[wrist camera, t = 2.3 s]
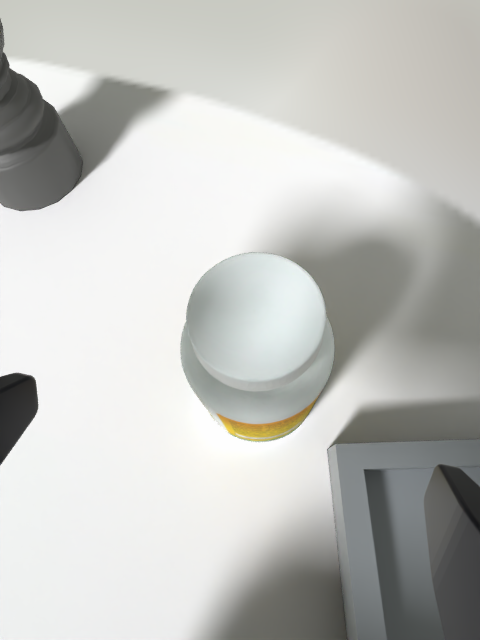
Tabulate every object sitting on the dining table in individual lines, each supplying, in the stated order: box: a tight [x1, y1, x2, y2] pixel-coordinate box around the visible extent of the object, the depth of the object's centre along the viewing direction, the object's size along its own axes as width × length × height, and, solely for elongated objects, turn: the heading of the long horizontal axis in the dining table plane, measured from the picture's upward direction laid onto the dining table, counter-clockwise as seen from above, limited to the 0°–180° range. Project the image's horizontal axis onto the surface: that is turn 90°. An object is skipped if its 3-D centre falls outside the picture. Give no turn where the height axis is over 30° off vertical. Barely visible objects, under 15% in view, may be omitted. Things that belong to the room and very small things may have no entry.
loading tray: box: [327, 439, 480, 640], centre depth 16 cm, size 10×10×2 cm
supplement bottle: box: [181, 252, 335, 442], centre depth 16 cm, size 5×5×10 cm
